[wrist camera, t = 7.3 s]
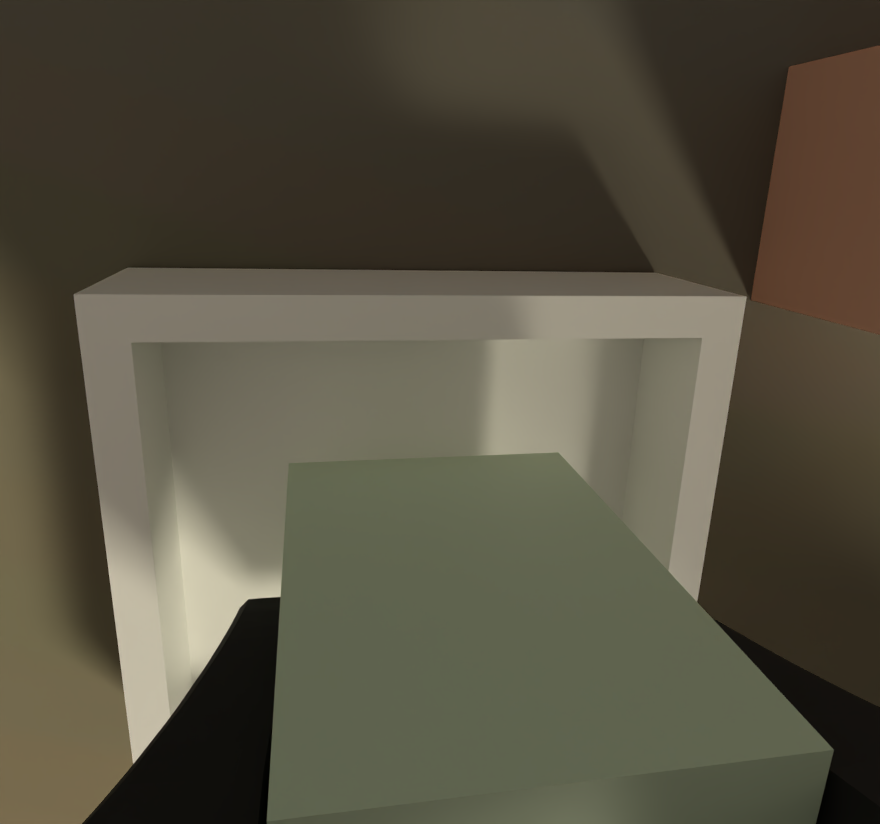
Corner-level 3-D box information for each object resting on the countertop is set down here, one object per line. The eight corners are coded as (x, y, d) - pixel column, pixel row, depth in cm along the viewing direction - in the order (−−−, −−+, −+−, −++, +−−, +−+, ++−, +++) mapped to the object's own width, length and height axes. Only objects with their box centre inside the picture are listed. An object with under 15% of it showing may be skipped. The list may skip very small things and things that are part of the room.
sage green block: (540, 673, 12) (746, 1108, 6) (298, 697, 11) (290, 1210, 6) (558, 452, 11) (835, 750, 5) (288, 463, 10) (265, 821, 4)
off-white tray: (605, 687, 16) (666, 789, 13) (175, 730, 14) (145, 858, 11) (656, 272, 13) (746, 296, 10) (127, 267, 11) (73, 293, 9)
